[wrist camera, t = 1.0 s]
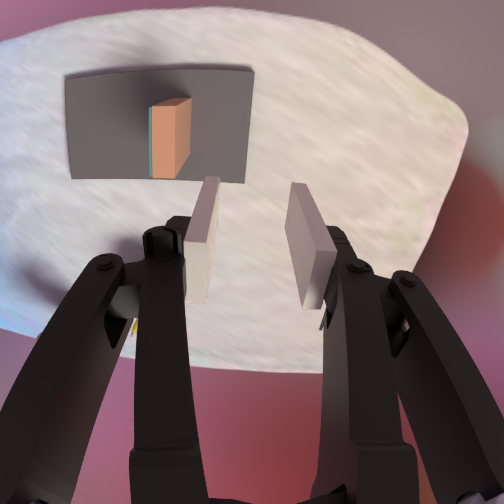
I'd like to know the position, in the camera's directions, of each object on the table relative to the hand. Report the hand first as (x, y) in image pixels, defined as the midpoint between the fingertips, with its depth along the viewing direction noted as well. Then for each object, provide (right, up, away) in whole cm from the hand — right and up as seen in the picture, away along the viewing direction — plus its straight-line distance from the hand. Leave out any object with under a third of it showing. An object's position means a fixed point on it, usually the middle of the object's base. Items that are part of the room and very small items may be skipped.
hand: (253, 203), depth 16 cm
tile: (-8, +12, +18) cm, 23 cm away
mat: (-12, +13, +18) cm, 26 cm away
